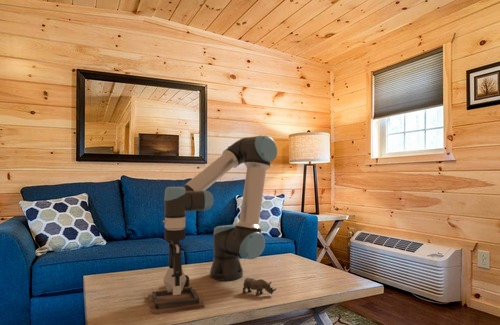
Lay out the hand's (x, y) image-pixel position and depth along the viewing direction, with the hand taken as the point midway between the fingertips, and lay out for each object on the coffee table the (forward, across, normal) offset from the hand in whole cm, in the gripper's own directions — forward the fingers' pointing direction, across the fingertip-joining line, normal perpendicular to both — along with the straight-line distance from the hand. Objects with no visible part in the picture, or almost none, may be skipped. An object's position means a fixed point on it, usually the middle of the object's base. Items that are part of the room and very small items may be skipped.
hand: (174, 290), depth 129 cm
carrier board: (+4, 0, 0) cm, 4 cm away
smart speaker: (+5, -18, +4) cm, 19 cm away
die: (0, 0, 0) cm, 0 cm away
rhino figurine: (+5, +3, +32) cm, 33 cm away
